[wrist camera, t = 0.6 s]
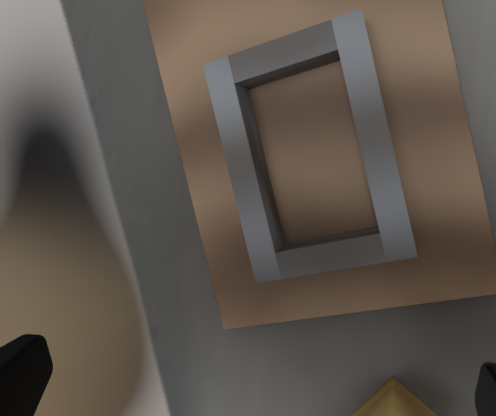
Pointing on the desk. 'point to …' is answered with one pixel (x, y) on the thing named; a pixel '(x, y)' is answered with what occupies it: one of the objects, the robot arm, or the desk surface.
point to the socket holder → (324, 154)
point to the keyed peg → (393, 402)
